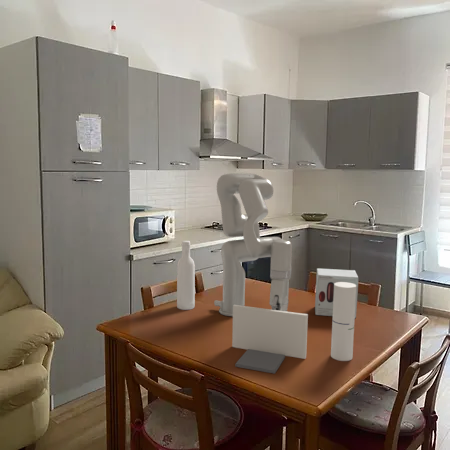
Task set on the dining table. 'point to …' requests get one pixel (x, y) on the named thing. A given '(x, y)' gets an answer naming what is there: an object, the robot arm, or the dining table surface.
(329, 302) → the supplement box
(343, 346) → the cylindrical container
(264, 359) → the mat
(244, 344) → the screen
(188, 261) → the bottle
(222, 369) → the dining table surface
